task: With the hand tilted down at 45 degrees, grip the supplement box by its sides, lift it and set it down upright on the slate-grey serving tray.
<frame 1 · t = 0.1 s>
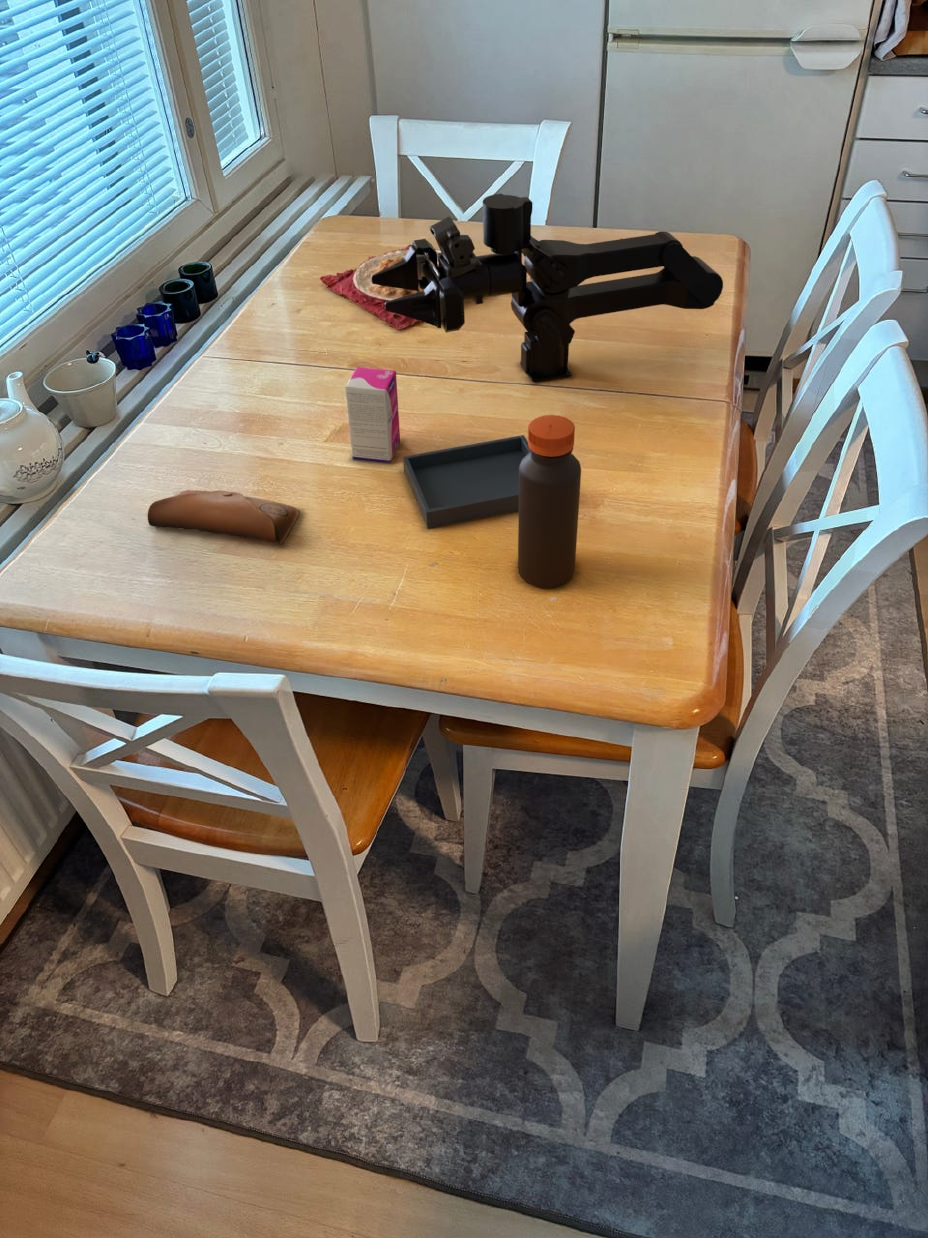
hand: (378, 292, 133), 17 cm above the table, tool horizontal, fingers open, 9 cm apart
bottle: (546, 572, 113), on the table
supplement box: (377, 452, 134), on the table
serving tray: (477, 487, 126), on the table
sunglasses case: (227, 522, 123), on the table
plate with food: (411, 288, 173), on the table
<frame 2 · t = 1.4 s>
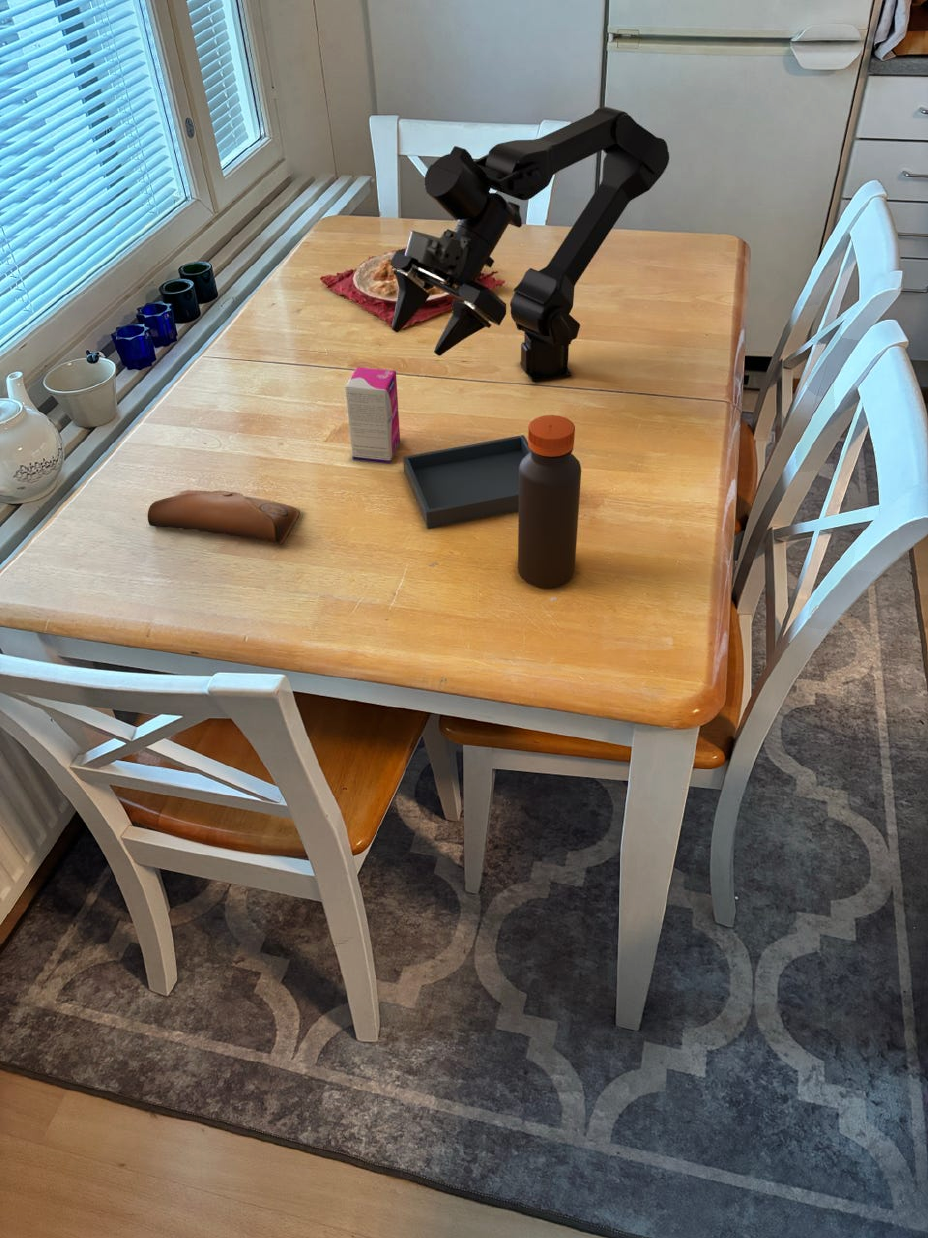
hand: (415, 342, 128), 14 cm above the table, tool tilted 45°, fingers open, 9 cm apart
nothing on the table moved.
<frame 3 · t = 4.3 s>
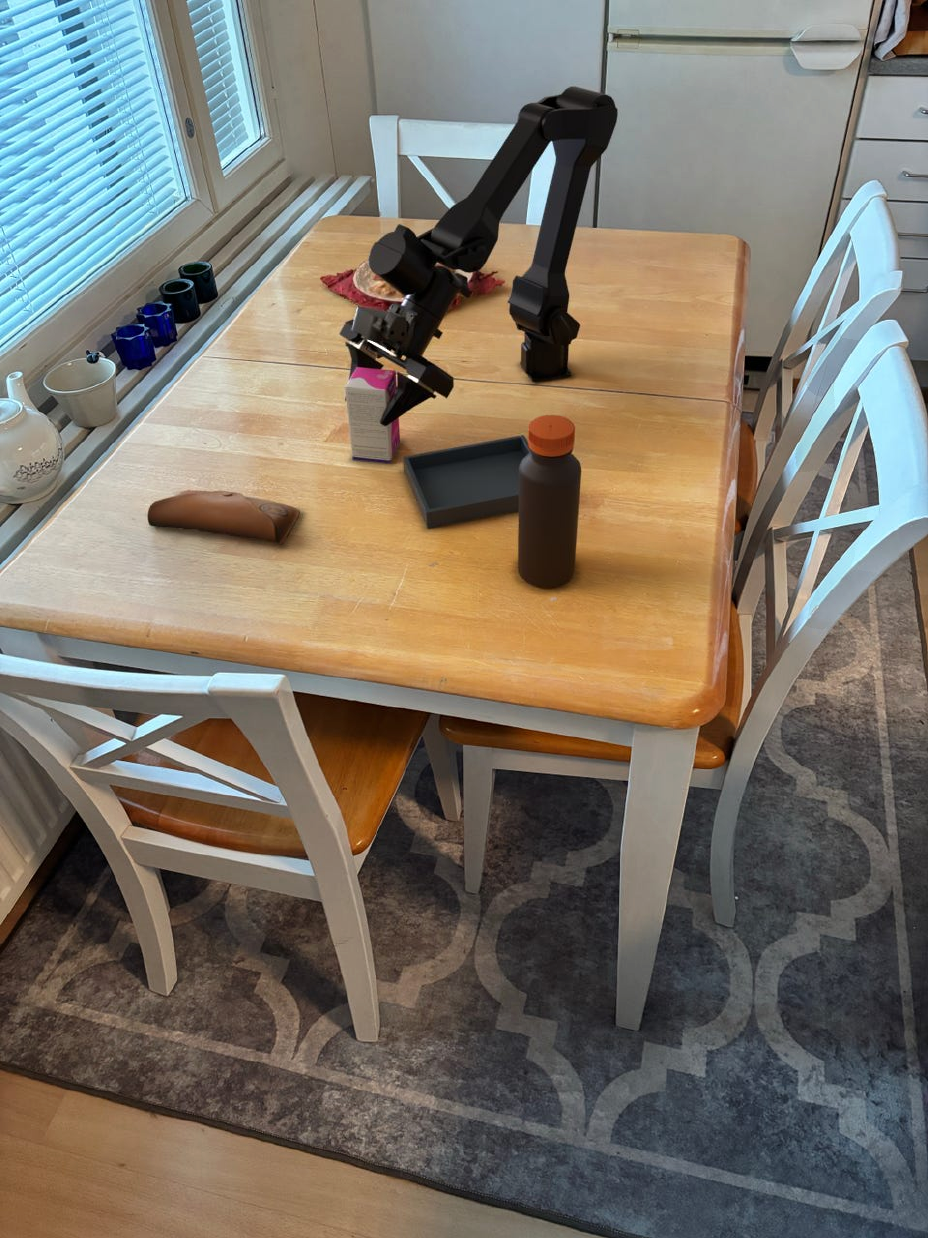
hand: (364, 413, 128), 7 cm above the table, tool tilted 45°, fingers closed on supplement box, 7 cm apart
supplement box: (377, 452, 134), on the table, touching gripper
everything else where it was.
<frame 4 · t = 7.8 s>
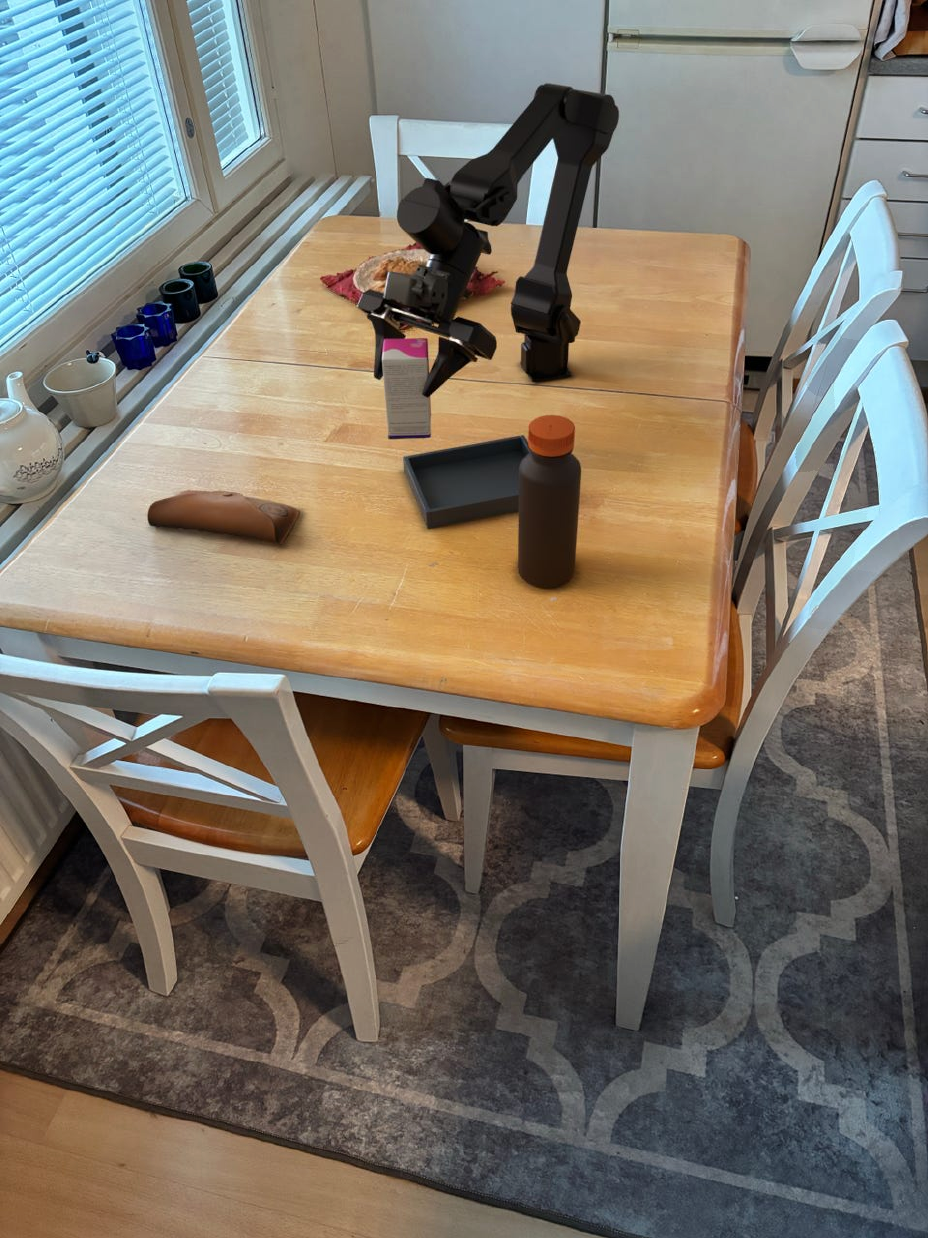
hand: (400, 387, 120), 13 cm above the table, tool tilted 45°, fingers closed on supplement box, 7 cm apart
supplement box: (410, 428, 125), point 6 cm above the table, touching gripper
everything else where it was.
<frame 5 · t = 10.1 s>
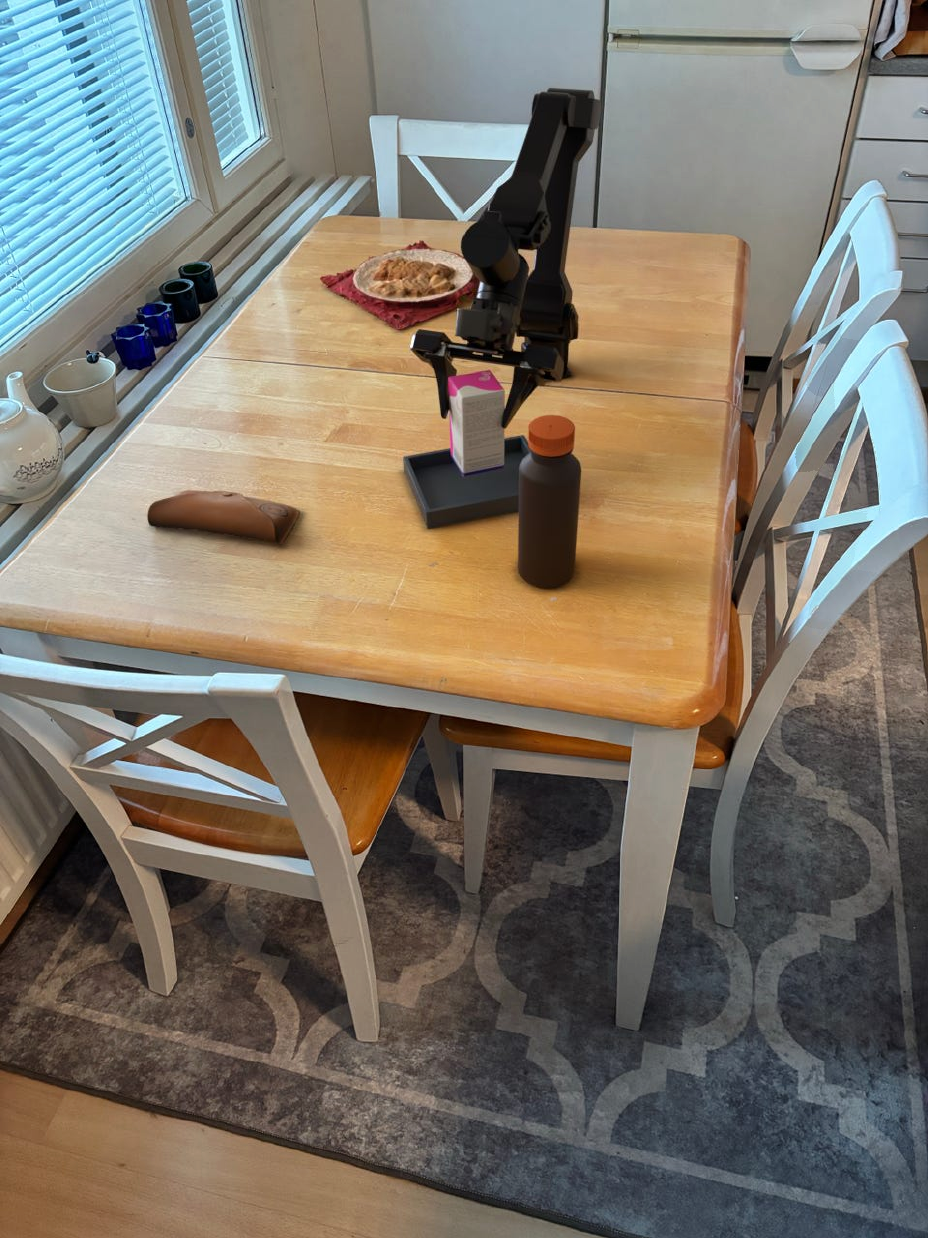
hand: (472, 422, 118), 11 cm above the table, tool tilted 45°, fingers closed on supplement box, 7 cm apart
supplement box: (477, 462, 124), point 4 cm above the table, touching gripper
everything else where it was.
when the fingers open (7 cm above the table, at t = 11.7 s): supplement box stays where it is, resting on serving tray.
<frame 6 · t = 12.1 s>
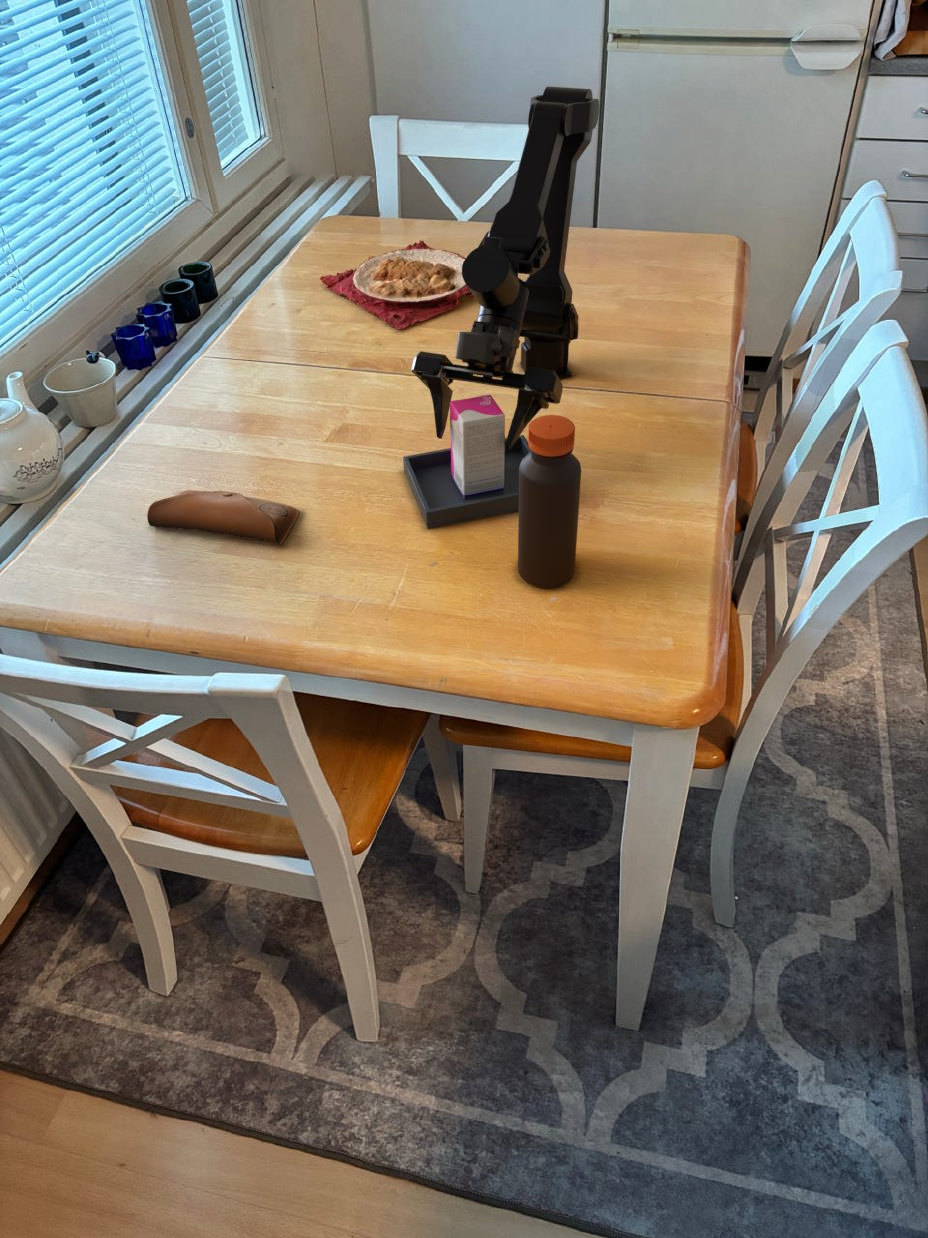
hand: (473, 443, 120), 8 cm above the table, tool tilted 45°, fingers open, 9 cm apart
supplement box: (477, 484, 126), resting on serving tray
everything else where it was.
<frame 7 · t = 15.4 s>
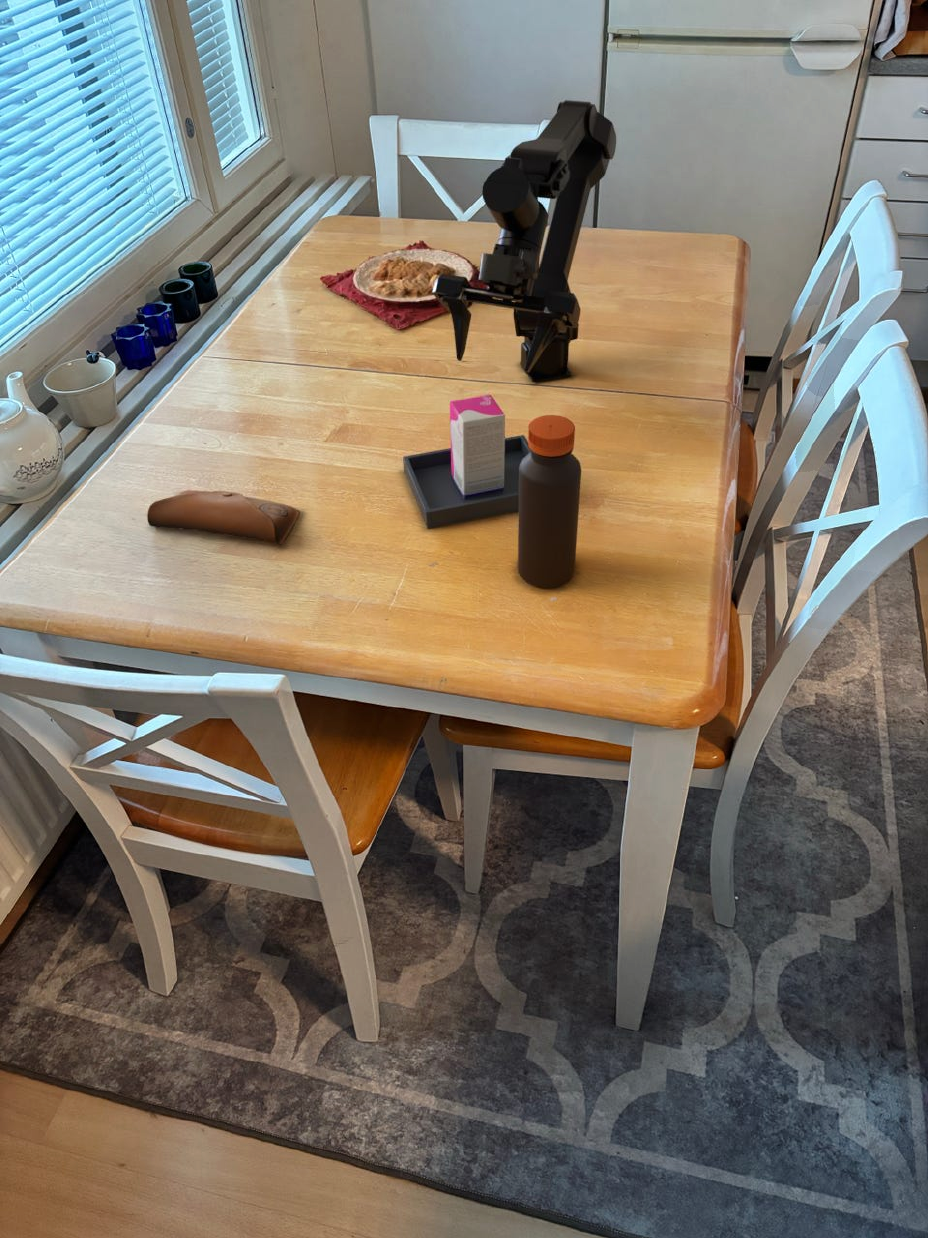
hand: (492, 365, 123), 13 cm above the table, tool tilted 45°, fingers open, 9 cm apart
nothing on the table moved.
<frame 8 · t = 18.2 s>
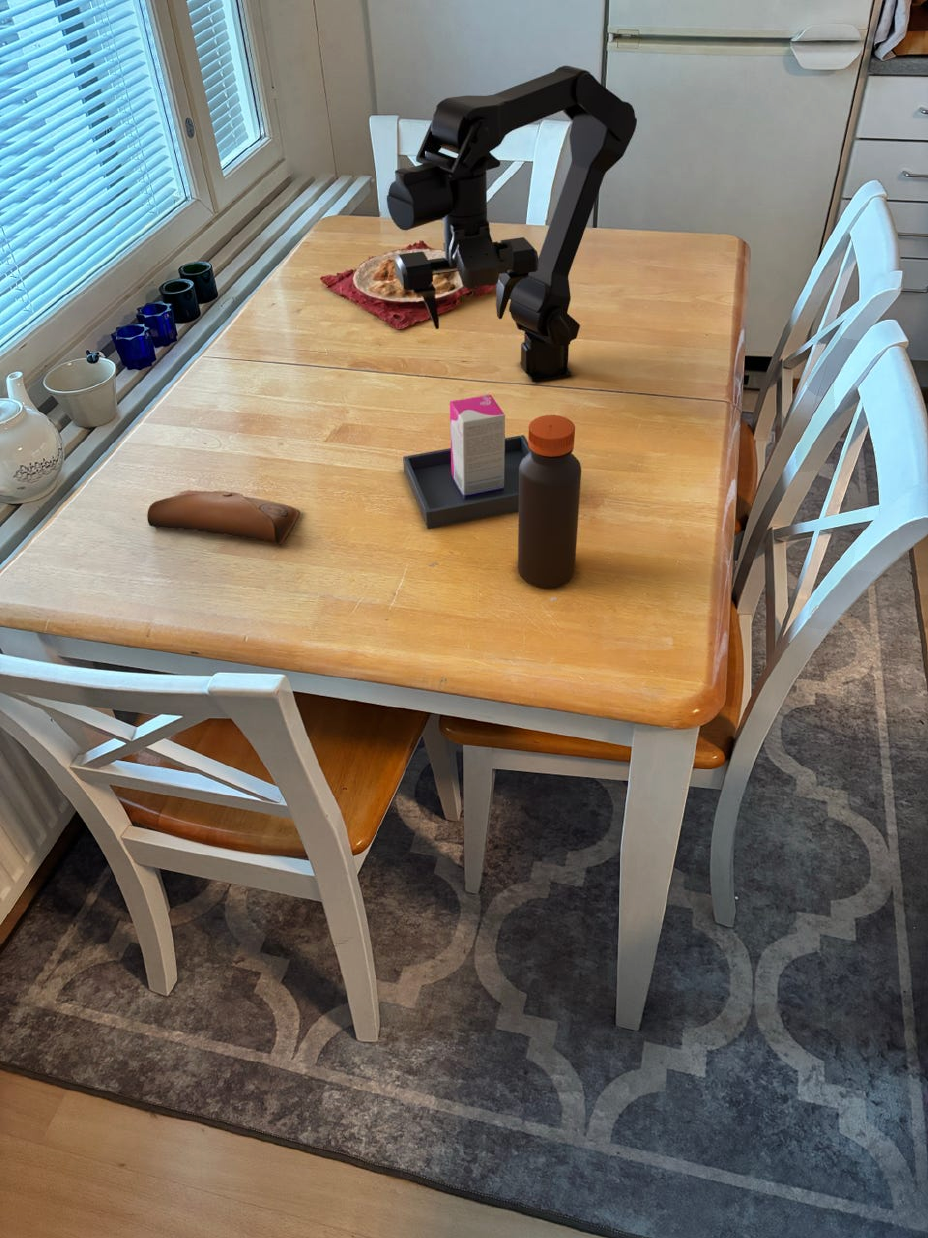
hand: (468, 322, 133), 13 cm above the table, tool pointing down, fingers open, 9 cm apart
nothing on the table moved.
at the end: supplement box inside the target area in the serving tray (0.2 cm from its centre), point 0.4 cm above the serving tray's base; supplement box tilted 0°; the gripper is holding nothing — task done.
